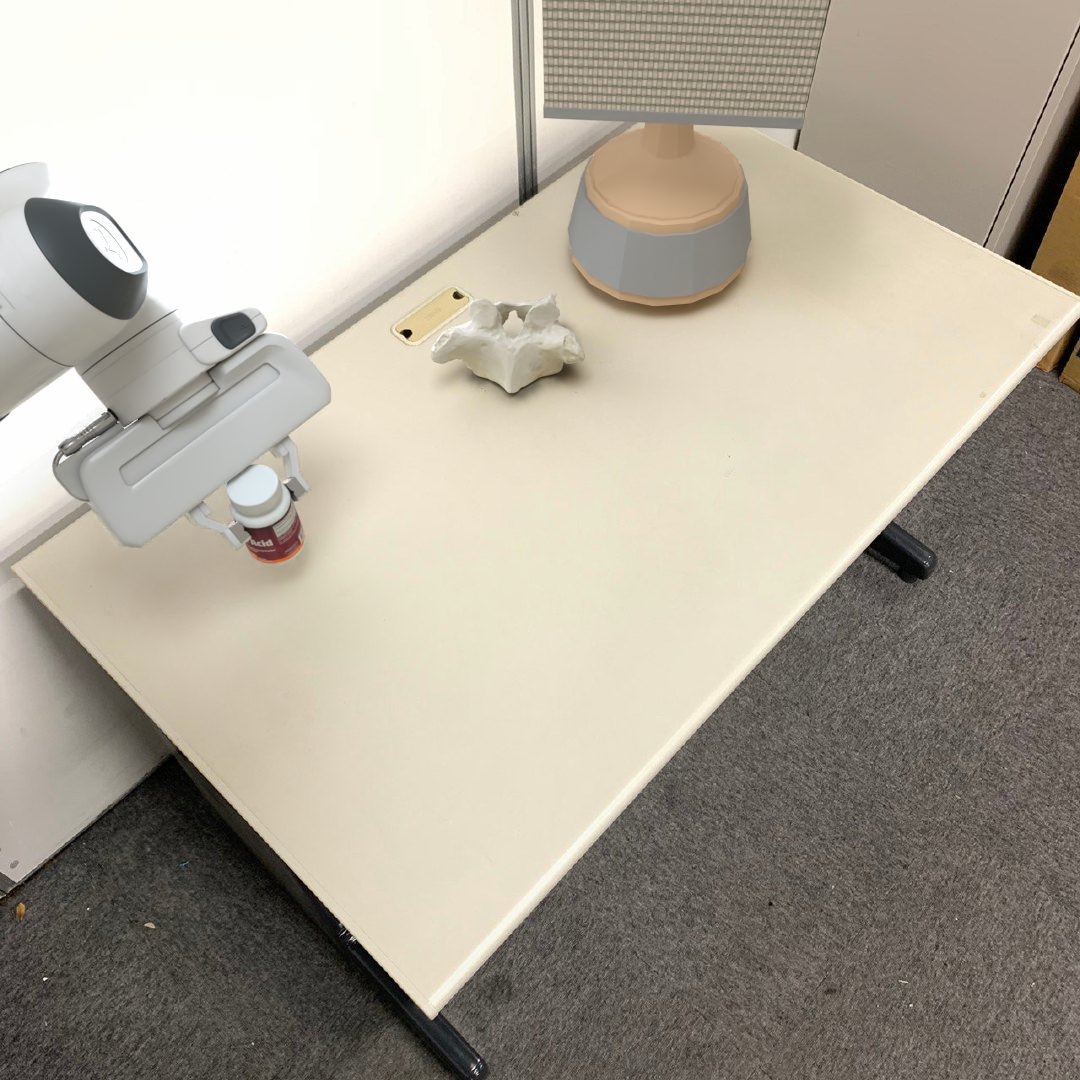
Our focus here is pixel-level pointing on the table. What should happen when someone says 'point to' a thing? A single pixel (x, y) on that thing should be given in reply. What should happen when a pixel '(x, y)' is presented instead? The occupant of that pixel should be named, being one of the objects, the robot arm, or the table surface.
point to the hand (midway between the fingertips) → (273, 519)
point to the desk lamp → (672, 130)
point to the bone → (510, 342)
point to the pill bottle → (266, 515)
